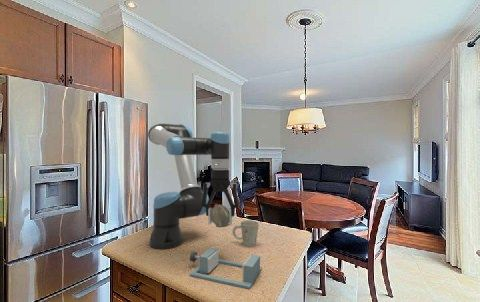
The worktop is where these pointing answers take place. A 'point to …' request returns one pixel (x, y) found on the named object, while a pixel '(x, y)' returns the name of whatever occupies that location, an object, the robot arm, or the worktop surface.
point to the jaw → (206, 260)
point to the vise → (249, 268)
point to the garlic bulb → (220, 216)
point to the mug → (248, 232)
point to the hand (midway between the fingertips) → (220, 223)
